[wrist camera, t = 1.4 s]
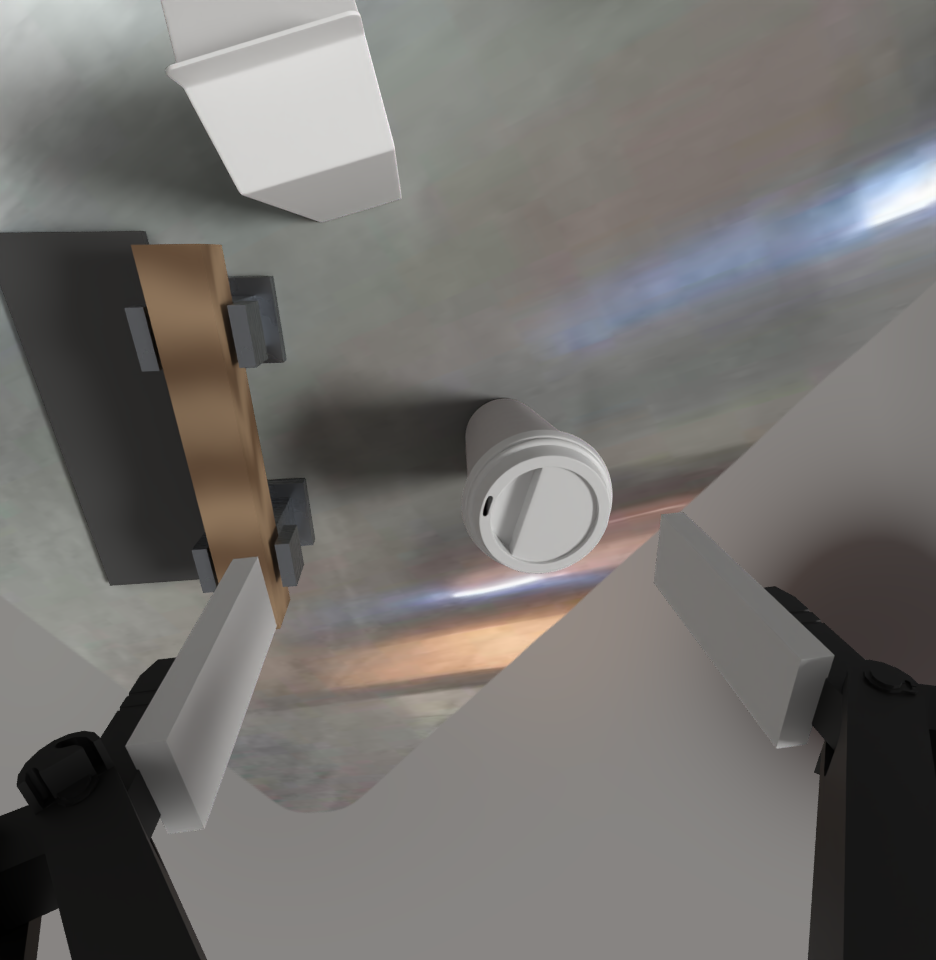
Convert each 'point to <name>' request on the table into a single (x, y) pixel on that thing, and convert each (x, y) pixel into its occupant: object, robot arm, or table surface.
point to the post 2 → (291, 531)
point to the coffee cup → (532, 490)
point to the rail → (212, 404)
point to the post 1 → (249, 322)
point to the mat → (104, 398)
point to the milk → (288, 101)
